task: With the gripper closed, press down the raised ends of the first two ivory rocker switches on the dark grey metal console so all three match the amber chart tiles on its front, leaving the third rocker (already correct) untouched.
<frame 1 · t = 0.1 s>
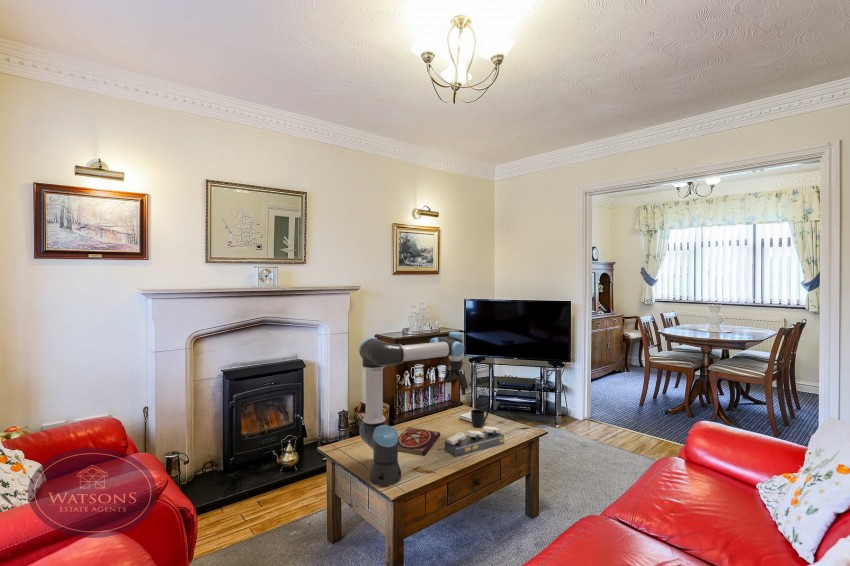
hand: (455, 397, 237), 28 cm above the table, fingers open, 13 cm apart
rocker 1: (457, 439, 231), point 7 cm above the table, hinge at -14.0°
book: (415, 443, 242), on the table
mug: (480, 426, 268), on the table
rocker 2: (474, 434, 237), point 7 cm above the table, hinge at 14.0°
console: (474, 446, 237), on the table
rocker 3: (491, 430, 243), point 7 cm above the table, hinge at 14.0°
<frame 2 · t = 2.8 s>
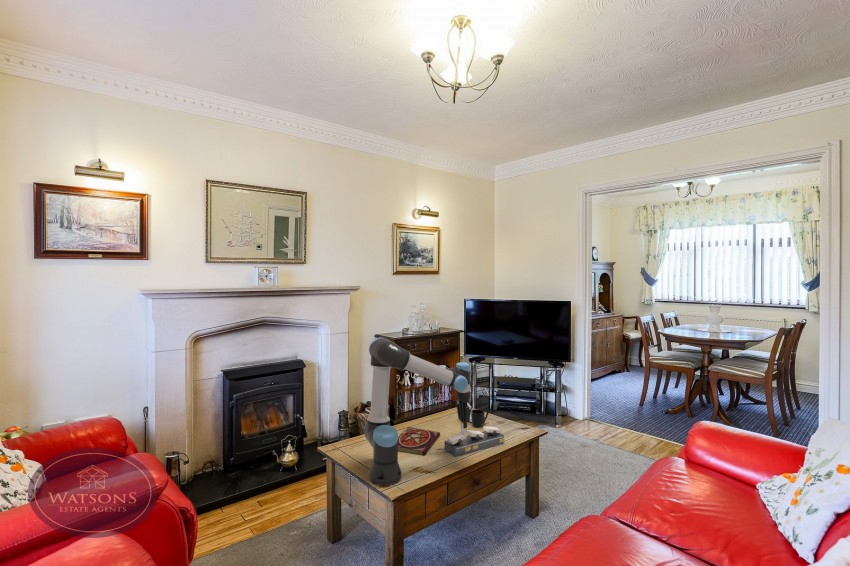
hand: (464, 433, 233), 9 cm above the table, fingers closed
rocker 1: (457, 439, 231), point 7 cm above the table, hinge at -11.4°, touching gripper
everything else where it was.
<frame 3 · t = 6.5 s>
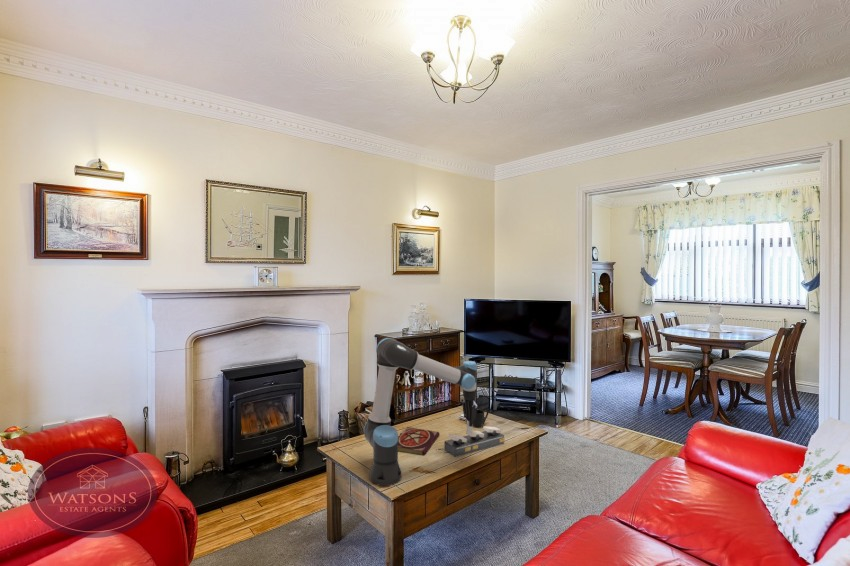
hand: (469, 431, 235), 10 cm above the table, fingers closed
rocker 1: (457, 439, 231), point 7 cm above the table, hinge at 20.0°, touching console
rocker 2: (474, 434, 237), point 7 cm above the table, hinge at 14.0°, touching gripper
everything else where it was.
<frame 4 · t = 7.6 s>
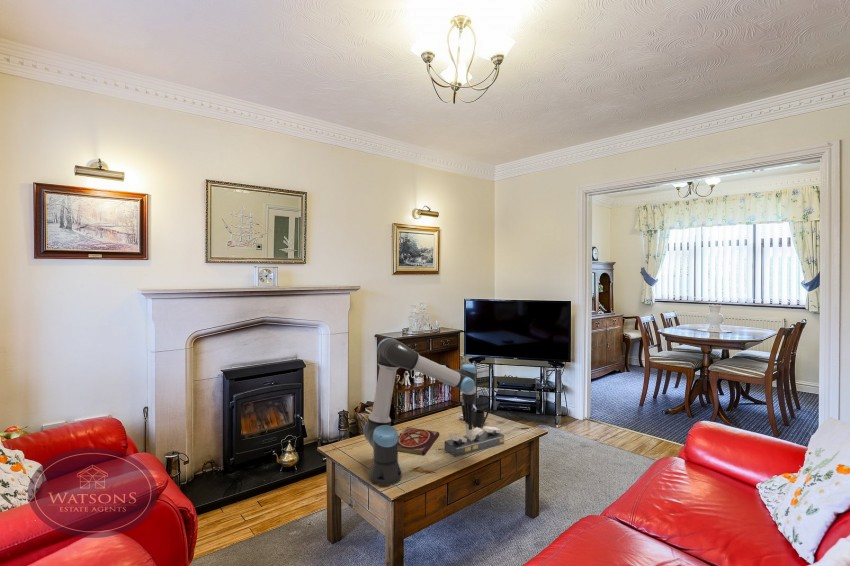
hand: (468, 434, 235), 8 cm above the table, fingers closed
rocker 2: (474, 435, 237), point 7 cm above the table, hinge at -20.1°, touching console
everything else where it was.
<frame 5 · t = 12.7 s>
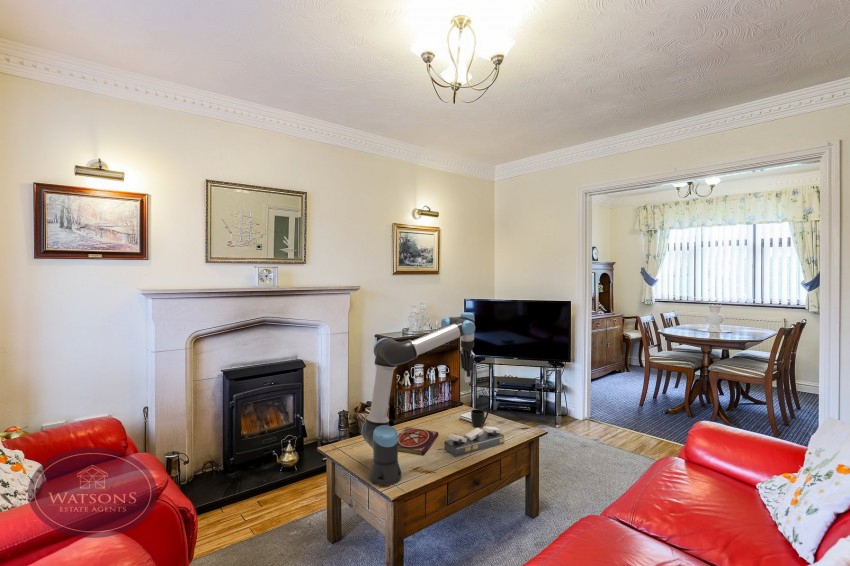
hand: (467, 381, 237), 36 cm above the table, fingers closed
rocker 2: (474, 434, 237), point 7 cm above the table, hinge at -15.5°
everything else where it was.
at the end: rocker 1 at +20° (first picture: -14°); rocker 2 at -16° (first picture: +14°); rocker 3 at +14° (first picture: +14°) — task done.
